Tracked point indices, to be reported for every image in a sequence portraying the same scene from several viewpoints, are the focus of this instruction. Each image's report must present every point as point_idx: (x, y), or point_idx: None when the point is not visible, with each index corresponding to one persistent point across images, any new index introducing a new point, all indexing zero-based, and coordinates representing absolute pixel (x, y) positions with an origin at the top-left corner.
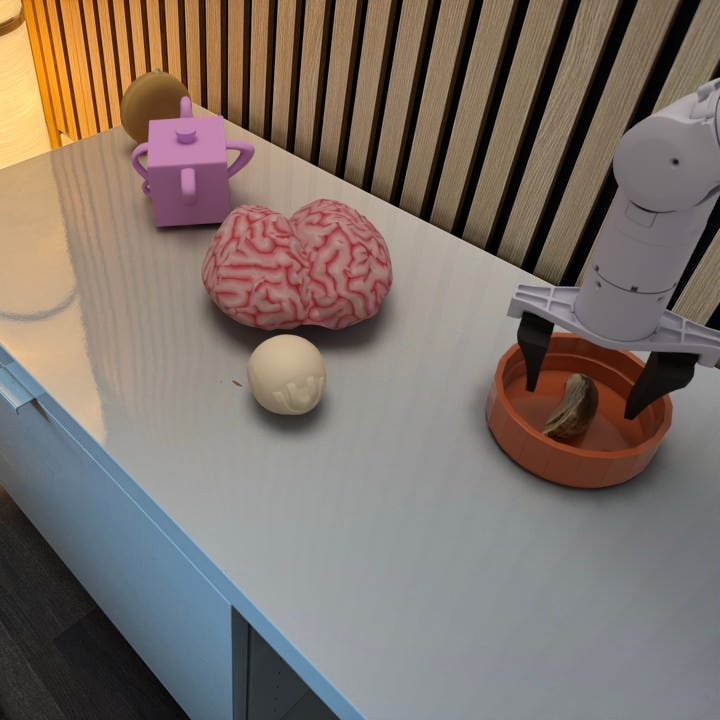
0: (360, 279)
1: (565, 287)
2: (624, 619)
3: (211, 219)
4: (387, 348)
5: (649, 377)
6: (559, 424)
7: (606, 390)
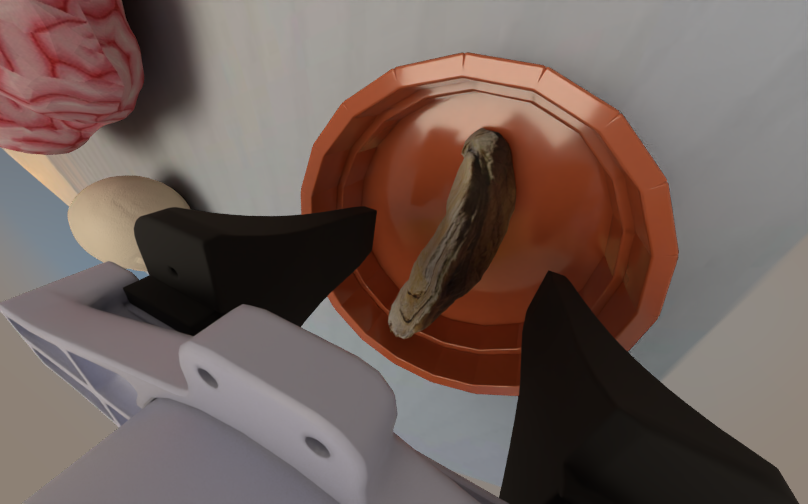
0: (3, 70)
1: (84, 357)
2: (487, 438)
3: None
4: (216, 93)
5: (513, 458)
6: (398, 336)
7: (562, 140)
